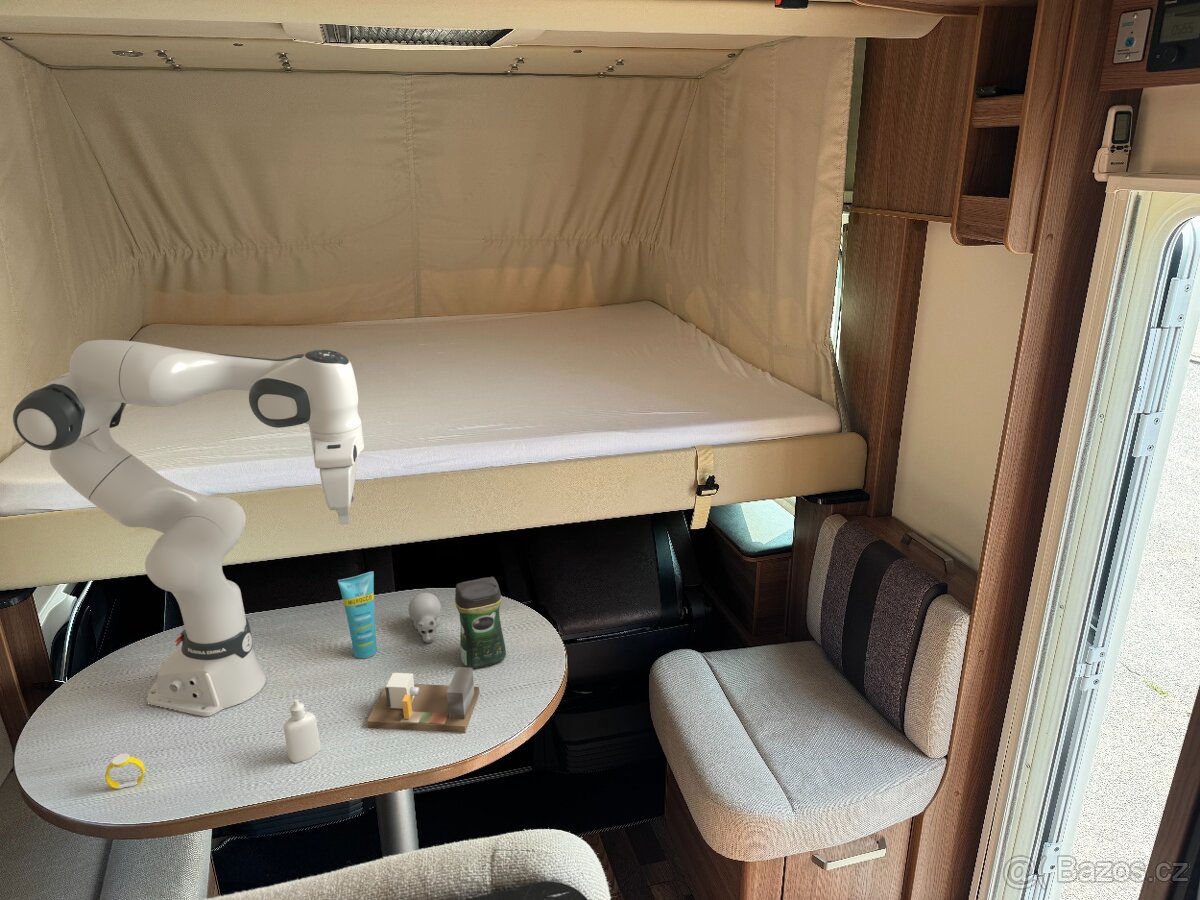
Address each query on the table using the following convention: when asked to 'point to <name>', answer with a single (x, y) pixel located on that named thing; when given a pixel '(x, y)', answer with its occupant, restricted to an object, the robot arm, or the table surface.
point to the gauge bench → (432, 707)
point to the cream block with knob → (400, 690)
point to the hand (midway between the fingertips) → (347, 511)
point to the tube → (360, 613)
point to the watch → (122, 761)
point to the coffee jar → (480, 622)
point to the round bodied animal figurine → (425, 614)
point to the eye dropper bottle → (301, 734)
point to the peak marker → (407, 706)
